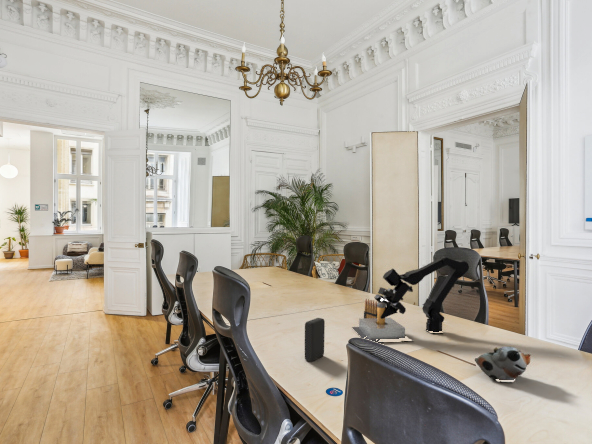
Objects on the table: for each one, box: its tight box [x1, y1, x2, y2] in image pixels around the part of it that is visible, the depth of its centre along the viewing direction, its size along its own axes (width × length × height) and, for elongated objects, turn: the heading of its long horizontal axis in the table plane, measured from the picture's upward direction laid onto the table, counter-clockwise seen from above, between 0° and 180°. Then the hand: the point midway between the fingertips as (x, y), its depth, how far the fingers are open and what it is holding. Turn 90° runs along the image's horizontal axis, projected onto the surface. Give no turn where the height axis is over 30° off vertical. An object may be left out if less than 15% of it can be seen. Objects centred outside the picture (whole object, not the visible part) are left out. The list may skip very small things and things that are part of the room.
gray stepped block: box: [351, 317, 406, 344], centre depth 162 cm, size 22×22×6 cm
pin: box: [377, 302, 386, 325], centre depth 162 cm, size 4×4×13 cm
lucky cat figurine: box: [474, 346, 532, 380], centre depth 118 cm, size 15×12×14 cm
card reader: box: [304, 317, 326, 362], centre depth 133 cm, size 9×4×15 cm, turn 141°
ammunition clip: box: [363, 298, 379, 318], centre depth 182 cm, size 11×2×12 cm, turn 35°
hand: (378, 317), depth 162 cm, fingers closed on pin, 4 cm apart
